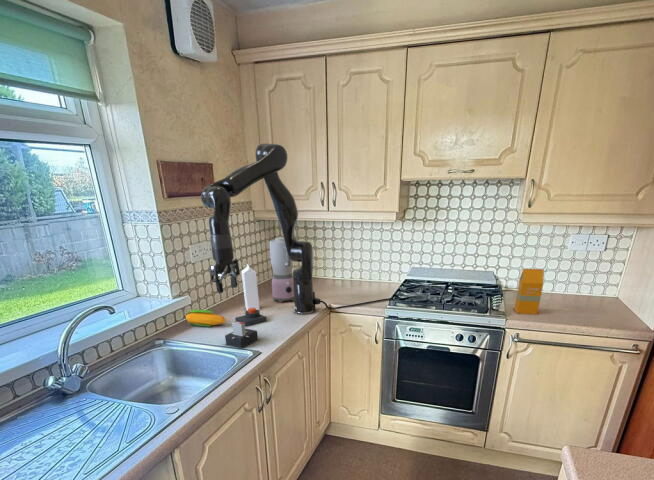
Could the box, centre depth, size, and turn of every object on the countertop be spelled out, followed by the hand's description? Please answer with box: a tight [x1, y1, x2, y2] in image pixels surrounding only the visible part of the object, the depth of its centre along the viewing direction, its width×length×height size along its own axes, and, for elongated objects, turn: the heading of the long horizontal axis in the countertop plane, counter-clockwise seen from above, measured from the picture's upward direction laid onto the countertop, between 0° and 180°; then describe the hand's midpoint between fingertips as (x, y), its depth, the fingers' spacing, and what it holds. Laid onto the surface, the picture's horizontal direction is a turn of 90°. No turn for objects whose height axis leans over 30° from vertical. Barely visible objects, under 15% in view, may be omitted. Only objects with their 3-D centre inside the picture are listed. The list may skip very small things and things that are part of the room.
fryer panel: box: [224, 328, 259, 349], centre depth 162 cm, size 11×9×4 cm
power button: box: [248, 308, 256, 313], centre depth 187 cm, size 4×4×2 cm
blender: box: [269, 236, 294, 304], centre depth 211 cm, size 16×12×32 cm
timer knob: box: [232, 321, 246, 336], centre depth 159 cm, size 5×2×5 cm, turn 61°
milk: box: [240, 263, 261, 311], centre depth 200 cm, size 6×6×22 cm
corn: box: [185, 308, 227, 328], centre depth 181 cm, size 7×8×20 cm
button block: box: [234, 310, 267, 328], centre depth 186 cm, size 11×9×4 cm
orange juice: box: [513, 268, 544, 315], centre depth 190 cm, size 8×9×20 cm
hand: (227, 289), depth 155 cm, fingers open, 8 cm apart
